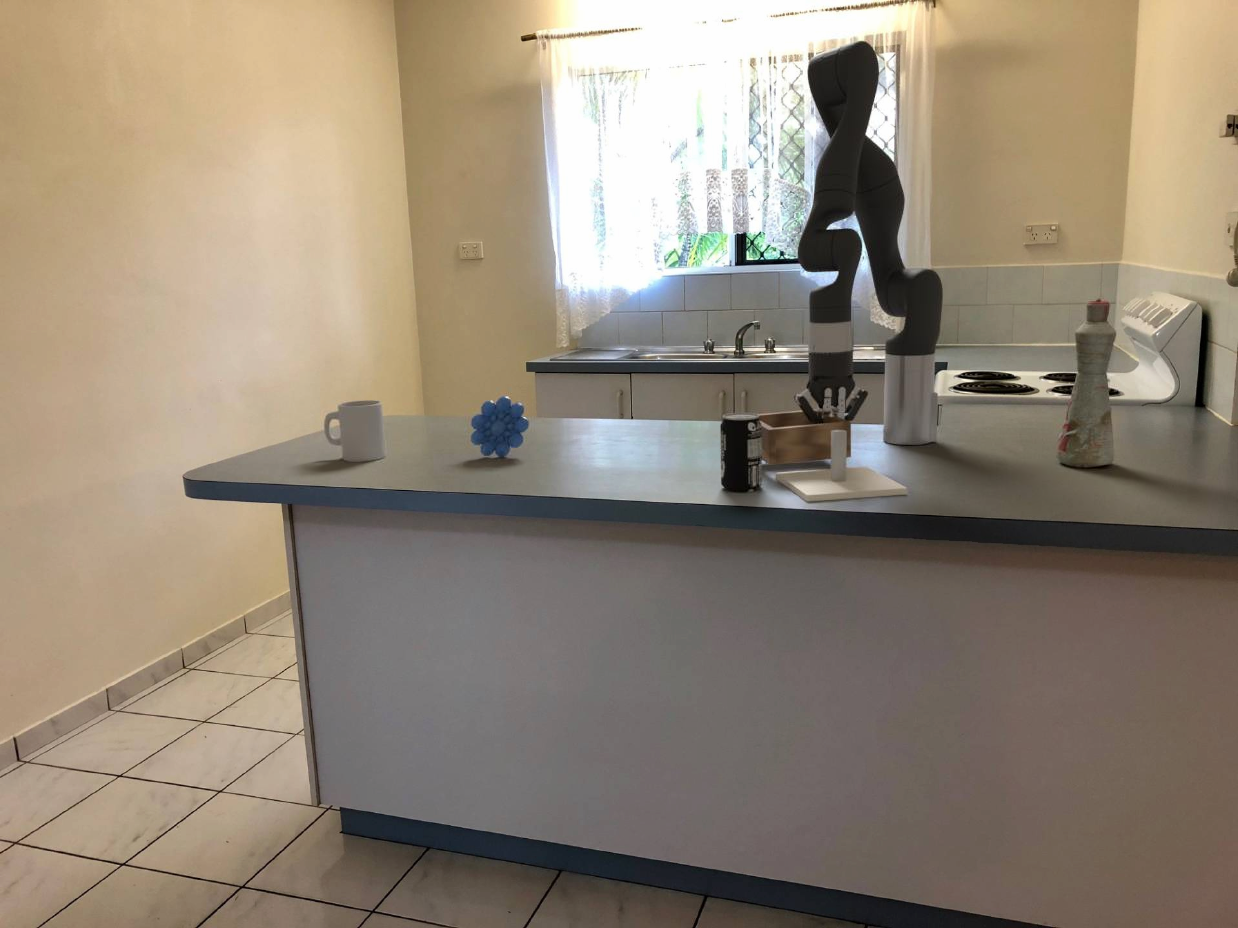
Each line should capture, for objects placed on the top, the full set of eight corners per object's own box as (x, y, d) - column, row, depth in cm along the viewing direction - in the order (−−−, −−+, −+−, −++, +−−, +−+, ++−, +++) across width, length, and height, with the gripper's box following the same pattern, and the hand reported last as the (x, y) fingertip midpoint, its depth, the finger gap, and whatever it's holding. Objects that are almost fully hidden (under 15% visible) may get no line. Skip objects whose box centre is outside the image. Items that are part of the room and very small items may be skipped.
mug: (392, 452, 195) (387, 399, 192) (378, 461, 186) (373, 406, 184) (335, 453, 196) (330, 401, 194) (319, 462, 188) (313, 407, 185)
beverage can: (717, 484, 157) (716, 413, 155) (756, 482, 158) (756, 411, 155) (725, 494, 151) (724, 419, 148) (766, 491, 151) (765, 417, 149)
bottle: (1091, 472, 156) (1103, 300, 150) (1044, 463, 164) (1054, 299, 158) (1125, 465, 160) (1138, 297, 154) (1078, 456, 168) (1089, 296, 162)
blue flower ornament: (534, 452, 190) (531, 392, 187) (528, 459, 183) (525, 397, 181) (477, 453, 191) (472, 394, 188) (469, 460, 184) (465, 399, 182)
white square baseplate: (866, 472, 162) (867, 420, 160) (906, 494, 147) (908, 437, 145) (775, 478, 160) (775, 425, 158) (807, 501, 145) (807, 443, 143)
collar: (819, 440, 175) (819, 408, 174) (850, 457, 161) (850, 422, 160) (744, 447, 173) (743, 415, 172) (769, 464, 159) (768, 429, 158)
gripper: (858, 343, 169) (859, 438, 173) (785, 348, 167) (787, 445, 171) (876, 347, 162) (876, 446, 165) (800, 353, 160) (802, 453, 163)
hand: (831, 445), depth 168 cm, fingers closed on collar, 1 cm apart
